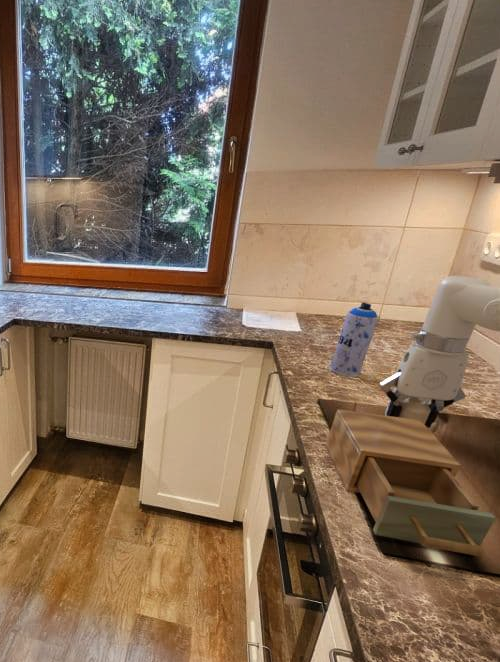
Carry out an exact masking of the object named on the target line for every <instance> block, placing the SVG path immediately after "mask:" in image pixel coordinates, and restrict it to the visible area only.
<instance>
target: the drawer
mask: <svg viewBox="0 0 500 662" xmlns="http://www.w3.org/2000/svg"><path fill="white" fill-rule="evenodd" d="M355 483H356V485H357V487H358V489H359V491H360V493H359V494H361V496H362V498H363V501H364V502H365V504H366V506H367V508H368V511H369V512H370V514H371V516H372V518H373V520H374V522H375V524H374V526H373V529H372V531H373V533H374V535H375V536H379V537H385V538H391V539H396V540H401V541H407V542H412V543H417V544H420V545H421V546H423V547H426V548H433V549H437V550H444V551H449V552H455V553H458V554H459V553H460V554H465V555H471V556H476V557H482V556H484V548H483V547H482V546H481V545H482V543H483V541H484V540H485V538H486V536H487V534H488V532H489V531H490V530H491V527H492V526H493V524H494V522H495V520H496V516H495V515H494V514H493V513H492V512H488V511H483V510H479V508H480V506H479V505H478V504H477V503H476V501H475V500H474V499H473V498H472V496H471V495H470V494H469V493H468V492H467V491H466V489H465V488H464V487H463V486H462V485H461V483H460V482H459V481H458V480H457V478H456V477H454V476H453V475H452V474H451V473H450V472H449V470H448V469H447V468H446V467H440V466H433V465H426V464H420V463H413V462H406V461H400V460H393V459H387V458H380V457H373V456H367V455H366V456H365V459H364V461H363V464H362V467H361V469H360V472H359V474H358V477H357V480H356V482H355Z"/></svg>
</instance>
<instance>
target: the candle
mask: <svg viewBox="0 0 500 662" xmlns="http://www.w3.org/2000/svg"><path fill="white" fill-rule="evenodd" d="M401 406H402V410H401V412H400V415H399V418H407V419H414V420H421V421H422V423H423V424H424V425H425V423H426V420H427V418H428V416H429V414H430V411H431V409H430V408H429V406H428V405H427V403H426V401H421V400H419V399H418V398H416V397H411V398H408V399H405V400H404V401H403V402H402V403H401Z"/></svg>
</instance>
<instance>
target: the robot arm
mask: <svg viewBox="0 0 500 662" xmlns="http://www.w3.org/2000/svg"><path fill="white" fill-rule="evenodd" d="M476 326H479V327H481V328H484V329H487V330H490V331H494V332H500V286H492V284H491V283H490V282H489V281H487V280H485V279H482V278H478V277H472V276H466V275H465V276H464V275H449V276H447V277H444V278H443V279H442V280H441V281H440V282H439V284H438V286H437V289H436V292H435V294H434V297H433V299H432V302H431V304H430V306H429V310H428V311H427V314H426V317H425V319H424V322H423V324H422V327H421V328H420V329H419V331H418V332H412V333H411V335H410V340H413V341H415V342H413V343H412V344H411V345H410V346H409V347H408V349H407V350H406V352H405V353H404V355H403V356H402V359H401V361H400V362H399V364H398V366H397V368H396V371H395V373H394V374H393V375H392V376H390V377H388V378H386V379H384V380H383V381H381V382H379V384H378V387H379V388H380V389H381V390H382V391H383V392H384V394H385V395H386V396H387V397H388V399H389V401H390V400H391V402H390V405H389V408H388V410H387V413H386V414H387V416H392V417H399V415H400V412H401V410H402V406H401V403H402V402H403V401H404V400H405V399H406V398H407V397H408V396H411V397H419V398H427V399H431V404H428V406H429V408H430V409H431V411H430V414H429V416H428V418H427V420H426V423H425V426H426V427H427V428H428V429H429V428H431V427H432V426H433V425H432V424H434V423H435V421H436V419H437V417H438V415H439V412H443V411H444V409H445V408H447V407H449V406H451V405H453V404H454V403H456V402H460V401H462V400H463V399H465V398H466V396H467V395H466V394H465V392H464V390H463V388H462V387H461V385H462V382H463V380H464V376H465V373H466V369H467V364H468V360H469V359H468V358H469V352H467V351H465V350H466V347H467V346H468V343H469V341H470V339H471V337H472V335H473V332H474V329H475V327H476ZM391 387H394V388H395V387H397V389H396V390H395V391H394V390H392V389H391ZM393 391H394V392H393Z"/></svg>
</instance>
